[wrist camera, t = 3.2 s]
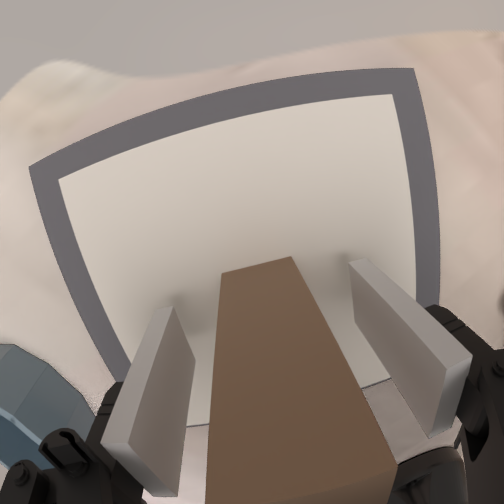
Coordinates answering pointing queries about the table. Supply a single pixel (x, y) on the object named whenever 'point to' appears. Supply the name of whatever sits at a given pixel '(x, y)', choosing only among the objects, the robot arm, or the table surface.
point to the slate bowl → (35, 407)
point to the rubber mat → (222, 109)
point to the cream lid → (262, 284)
